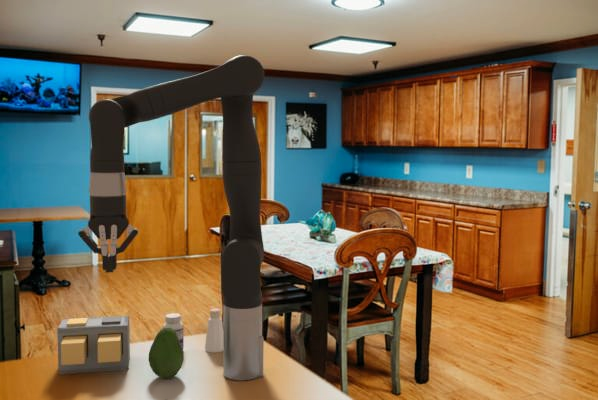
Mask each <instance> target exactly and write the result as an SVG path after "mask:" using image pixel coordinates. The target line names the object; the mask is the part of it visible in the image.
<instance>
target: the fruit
mask: <svg viewBox="0 0 598 400" xmlns="http://www.w3.org/2000/svg"><path fill="white" fill-rule="evenodd" d="M158 331H159V330H158ZM149 349H150V350H149V352H148V363H149V366H150V369H151V370H152V372H153V373H154V374H155V375H156V376H157V377H159V378H160V379H164V380H171V379H173V378H174V377H176V376H177V375H178V373H179V371H180V370H181V369H182V366H183V363H184V348H183V349H182V346H181V344H180V341H179V339H178V336H177V334H176V332H175V331H174V330H173V329H172V328H171V327H170V328H164V329H163V328H162V329H160V331H159V332H158V333H157V334H156V336H155V337H154V340H153V342H152V344H151V345H150V348H149Z"/></svg>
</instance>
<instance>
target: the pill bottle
mask: <svg viewBox="0 0 598 400" xmlns="http://www.w3.org/2000/svg"><path fill="white" fill-rule="evenodd" d="M164 318H165V319H164V320H165V322H164V323H163V325H162V329H164V328H170V327H171V328H172V329H173V330H174V331H175V332H176V334H177V336H178V339H179V341H180V344H181V346H182V349H183V350H184V347H185V345H184V323H183V322H181V320H182V317H181V314H180V313H176V312H175V313H174V312H173V313H172V312H171V313H167V314H166V315H165V317H164Z"/></svg>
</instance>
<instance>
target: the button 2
mask: <svg viewBox="0 0 598 400" xmlns="http://www.w3.org/2000/svg"><path fill="white" fill-rule="evenodd" d="M121 355H122V333H106V334H100V336H99V339H98V363H101V362H116V361H120V360H121Z"/></svg>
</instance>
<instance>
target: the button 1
mask: <svg viewBox="0 0 598 400" xmlns="http://www.w3.org/2000/svg"><path fill="white" fill-rule="evenodd" d="M87 354H88V335H70V336H65V337H64V339H63V341H62V343H61V365H72V364H84V363H85V360H86V357H87Z"/></svg>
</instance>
